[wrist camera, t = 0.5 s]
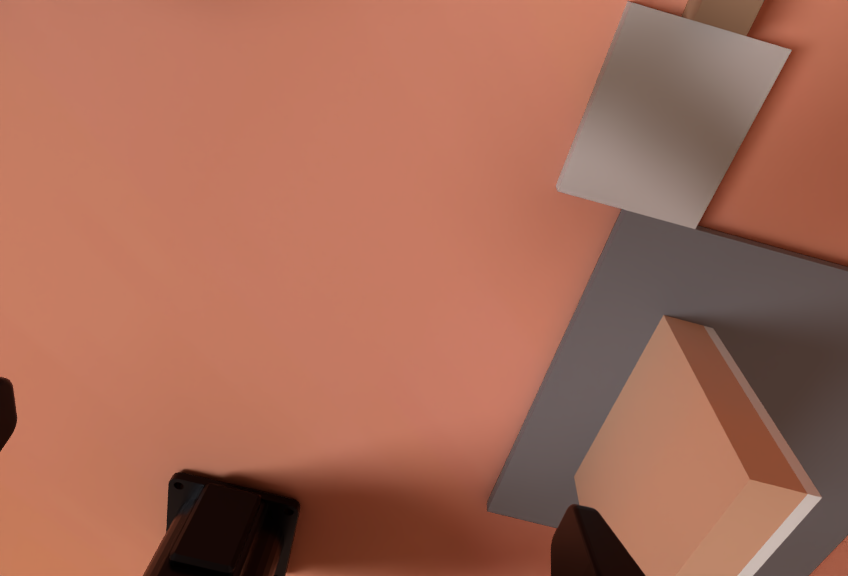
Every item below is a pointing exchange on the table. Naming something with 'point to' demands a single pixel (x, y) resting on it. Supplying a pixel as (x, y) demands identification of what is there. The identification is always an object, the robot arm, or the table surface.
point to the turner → (671, 109)
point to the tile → (693, 463)
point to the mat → (743, 338)
